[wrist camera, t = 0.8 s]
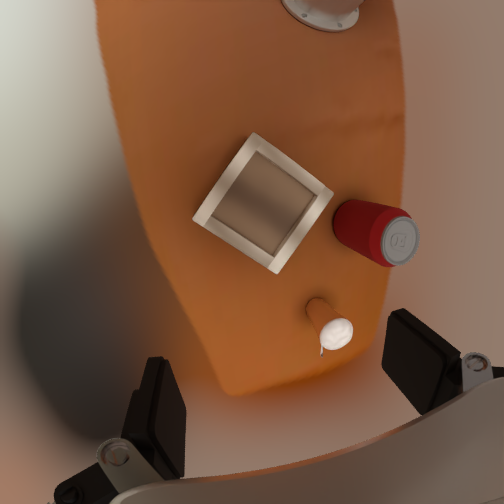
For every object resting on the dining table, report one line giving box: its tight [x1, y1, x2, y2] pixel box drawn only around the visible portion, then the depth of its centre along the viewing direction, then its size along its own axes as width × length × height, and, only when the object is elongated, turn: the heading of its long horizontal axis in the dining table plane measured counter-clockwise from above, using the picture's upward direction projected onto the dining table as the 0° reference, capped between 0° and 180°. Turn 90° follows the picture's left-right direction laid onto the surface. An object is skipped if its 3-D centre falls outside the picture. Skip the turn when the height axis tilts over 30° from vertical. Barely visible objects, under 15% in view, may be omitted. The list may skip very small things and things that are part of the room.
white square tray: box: [192, 132, 334, 274], centre depth 34 cm, size 12×12×4 cm
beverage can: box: [334, 200, 420, 267], centre depth 32 cm, size 7×7×12 cm
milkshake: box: [306, 298, 353, 357], centre depth 36 cm, size 4×5×10 cm
